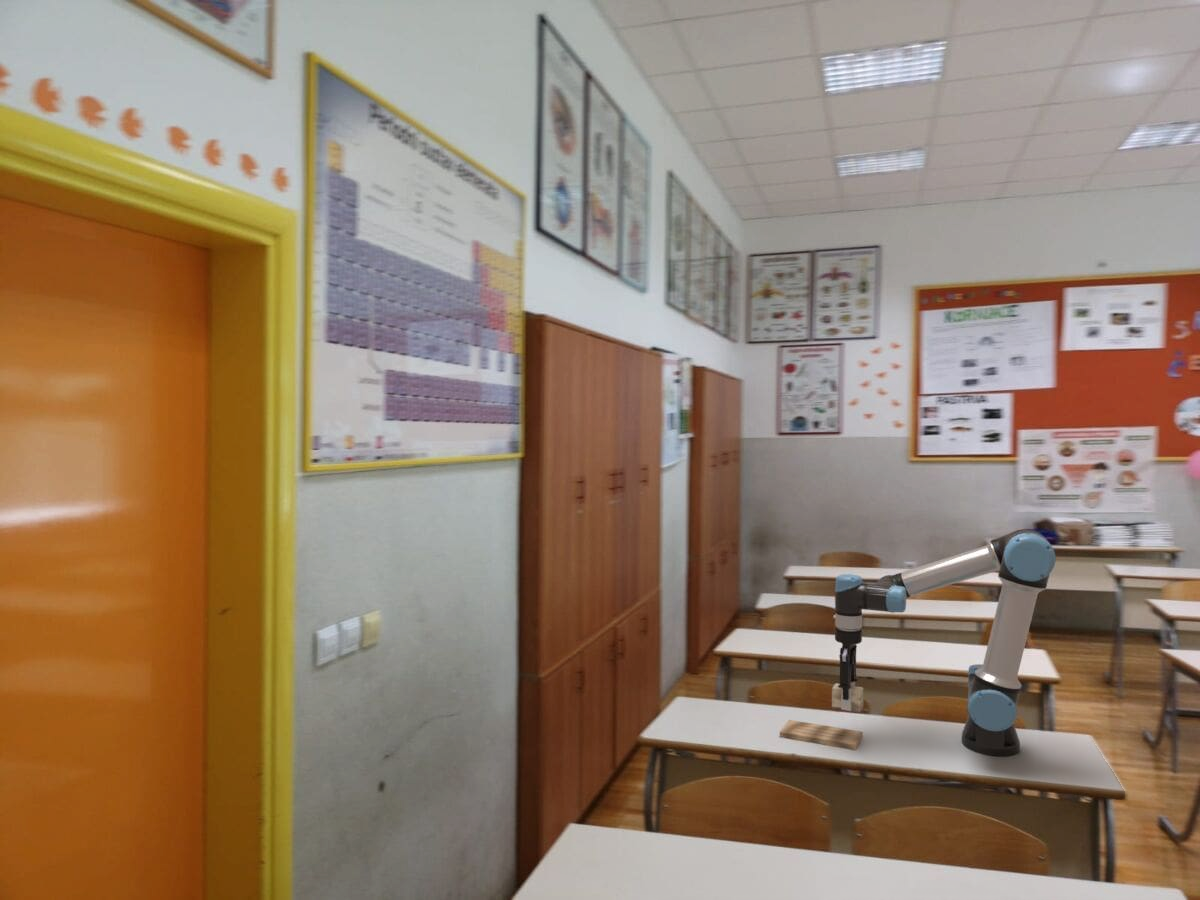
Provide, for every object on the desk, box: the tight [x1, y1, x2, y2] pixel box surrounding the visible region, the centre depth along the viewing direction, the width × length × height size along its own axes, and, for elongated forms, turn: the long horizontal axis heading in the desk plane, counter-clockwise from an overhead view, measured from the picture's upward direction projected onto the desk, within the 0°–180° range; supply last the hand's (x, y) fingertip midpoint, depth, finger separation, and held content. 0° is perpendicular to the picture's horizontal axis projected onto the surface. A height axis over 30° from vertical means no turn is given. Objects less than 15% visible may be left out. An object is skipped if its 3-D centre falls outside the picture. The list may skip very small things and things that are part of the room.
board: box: [779, 719, 863, 751], centre depth 237 cm, size 22×11×2 cm, turn 62°
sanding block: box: [831, 683, 864, 714], centre depth 233 cm, size 8×5×6 cm, turn 62°
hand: (848, 706), depth 233 cm, fingers closed on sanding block, 5 cm apart
